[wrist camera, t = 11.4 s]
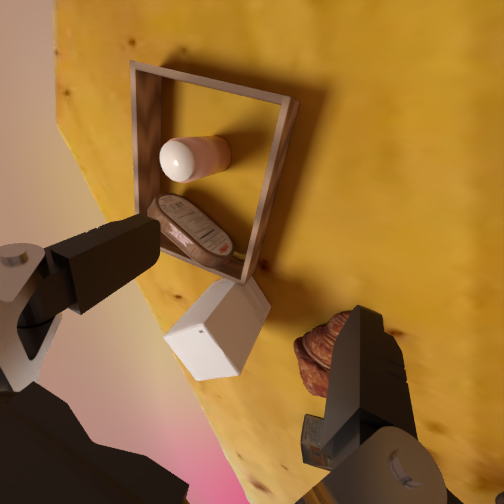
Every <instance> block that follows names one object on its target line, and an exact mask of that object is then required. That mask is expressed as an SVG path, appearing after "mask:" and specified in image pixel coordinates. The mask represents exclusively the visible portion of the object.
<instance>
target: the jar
mask: <svg viewBox="0 0 504 504" xmlns="http://www.w3.org/2000/svg"><path fill="white" fill-rule="evenodd" d="M231 157H232V154H231V149H230V147H229V145H228V143H227V142H226V141H225V140H224V139H223V138H221V137H219V136H203V137H182V138H173V139H170V140H169V141H168V142H167V143H165V144H164V145H163V147H162V149H161V151H160V164H161V167H162V169H163V171H164V173H165V174H166V175H167V176H168V177H169V178H170V179H172V180H174V181H177V182H180V183H187V182H191V181H194V180H197V179H200V178H203V177H206V176H209V175H213V174H216V173H219V172H222V171H224V170H226V169H227V168H228V166H229V165H230V162H231Z"/></svg>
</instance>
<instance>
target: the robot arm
mask: <svg viewBox="0 0 504 504" xmlns="http://www.w3.org/2000/svg"><path fill="white" fill-rule="evenodd" d="M160 237H161V224H160V222H159V221H158V220H156V219H154V218H152V217H149V216H147V215H145V214H142V213H139V214H136V215H134V216H131V217H129V218H126V219H124V220H120V221H114V222H110V223H107V224H105V225H102V226H100V227H98V229H97V228H95V229H92V230H90V231H88V232H87V233H86V232H84V233H82V234H79V235H77V236H74V237H72V238H69V239H67V240H64V241H61V242H59V243H56V244H54V245H51V246H49V247H46V248H44V249H43V248H42V247H40V246H38V245H34V244H28V243H18V244H9V245H4V246H1V247H0V504H190V503H189V502H188V501H187V499H186V496H187V492H188V488H189V484H187V483H186V482H184V481H183V480H181V479H180V478H178V477H177V476H175V475H174V474H172V473H171V472H169V471H168V470H166V469H165V468H163V467H162V466H160V465H159V464H157V463H156V462H154V461H153V460H151V459H150V458H148V457H147V456H144V455H140V454H136V453H132V452H128V451H124V450H119V449H115V448H111V447H107V446H103V445H99V444H96V443H94V442H92V440H91V439H90V438H89V436H88V435H87V433H86V432H85V430H84V429H83V427H82V426H81V424H80V422H79V421H78V419H77V418H76V416H75V415H74V413H73V412H72V410H71V409H70V407H69V405H68V404H67V403H66V402H64V401H63V400H61V399H60V398H58V397H57V396H55V395H54V394H52V393H51V392H49V391H48V390H46V389H45V388H43V387H42V386H40V385H39V384H38V376H39V370H40V367H41V364H42V362H43V360H44V358H45V356H46V353H47V351H48V349H49V347H50V344H51V342H52V340H53V337H54V335H55V333H56V331H57V328H58V326H59V324H60V322H61V319H62V313H61V312H62V311H64V310H65V309H67V308H69V309H71V310H73V311H75V312H76V313H78V314H80V315H82V314H83V313H85V312H86V311H87V310H89V309H90V308H92V307H93V306H95V305H96V304H98V303H99V302H100V301H102V300H103V299H105V298H106V297H108V296H109V295H111V294H112V293H114V292H115V291H117V290H118V289H120V288H121V287H123V286H124V285H126V284H127V283H128V282H130V281H131V280H133V279H134V278H136V277H137V276H139V275H140V274H142V273H143V272H145V271H146V270H147V269H149V268H150V267H152V266H153V265H154V264H155V263H156V262H157V260H158V258H159V255H160ZM404 367H405V366H404V360H403V354H402V351H401V349H400V347H399V346H398V344H397V342H396V340H395V339H394V337H393V336H392V335H389V334H387V333H385V332H384V326H383V318H382V315H381V314H379V313H377V312H375V311H372V310H370V309H367V308H365V307H363V306H360V305H357V306H356V307H355V308H354V310H353V311H352V313H351V315H350V316H349V318H348V319H347V321H346V323H345V324H344V326H343V328H342V329H341V331H340V332H339V334H338V336H337V338H336V340H335V343H334V347H333V351H332V359H331V367H330V375H329V383H328V391H327V399H326V407H325V415H324V423H323V431H322V438H321V446H320V451H322V452H323V453H325V454H327V455H329V456H331V457H332V469H331V472H330V473H329V474H328V475H327V476H326V477H324V478H323V479H322V480H321V481H320V482H319V483H318V484H316V485H315V486H314V487H313V488H312V489H310V490H309V491H308V492H307V493H306V494H305V495H304V496H303V497H301V498H300V499H299V500H298V501H297V502H296V503H295V504H464V503H462V502H461V501H460V500H459V499H458V498H457V497H455V496H454V495H453V494H452V493H451V492H450V491H449V490H448V489H447V488H446V486H445V482H444V479H443V476H442V474H441V472H440V470H439V468H438V466H437V464H436V462H435V461H434V459H433V458H432V456H431V455H430V454H429V452H428V451H427V450H426V449H425V447H424V446H423V445H422V444H421V443H420V442H419V441H418V438H417V433H416V427H415V422H414V416H413V410H412V405H411V399H410V394H409V388H408V383H406V381H407V377H406V371H405V370H404Z"/></svg>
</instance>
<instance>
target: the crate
mask: <svg viewBox="0 0 504 504" xmlns="http://www.w3.org/2000/svg"><path fill="white" fill-rule="evenodd" d="M162 77H166V78H170V79H174V80H178V81H183V82H187V83H191V84H195V85H199V86H203V87H208V88H212V89H216V90H220V91H224V92H229V93H233V94H237V95H241V96H245V97H250V98H254V99H258V100H262V101H266V102H270V103H275V104H279V105H281V108H280V113H279V117H278V121H277V126H276V130H275V134H274V138H273V143H272V147H271V151H270V156H269V160H268V164H267V168H266V173H265V177H264V181H263V186H262V190H261V194H260V199H259V203H258V207H257V211H256V216H255V220H254V224H253V229H252V233H251V237H250V241H249V246H248V250H247V254H246V259H245V263H244V262H242V261H239V260H237V259H234V258H232V257H231V259H230V260H229V261H228V263H227V264H226V266H224V267H223V268H220V269H210V268H206V267H204V266H202V265H200V264H198V263H196V262H195V261H194V260H192V259H191V258H190V257H189V256H188V255H187V254H186V253H185V252H183V251H182V250H181V249H180V248H179V247H178V246H177V245H176V244H175V243H173V242H172V241H171V240H170V239H169V238H168V237H167V236H166V235H164V234H163V233H162V232H161V237H160V251H162V252H164V253H166V254H169V255H171V256H173V257H176V258H178V259H181V260H183V261H185V262H188V263H190V264H193V265H195V266H197V267H200V268H202V269H204V270H207V271H209V272H212V273H214V274H216V275H219V276H221V277H223V278H226V279H228V280H231V281H233V282H235V283H238V284H240V285H243V286H245V284H246V283H247V282H248V280H249V279H250V277H251V276H252V275H253V273H254V272H255V270H256V266H257V262H258V258H259V254H260V251H261V247H262V243H263V239H264V236H265V232H266V228H267V224H268V220H269V217H270V213H271V209H272V205H273V202H274V198H275V194H276V190H277V186H278V183H279V179H280V175H281V171H282V168H283V164H284V160H285V156H286V152H287V149H288V145H289V141H290V137H291V134H292V130H293V126H294V122H295V118H296V115H297V111H298V107H299V103H300V101H298V100H296V99H294V98H292V97H289V96H285V95H280V94H276V93H271V92H267V91H263V90H258V89H254V88H250V87H245V86H241V85H237V84H232V83H228V82H223V81H219V80H215V79H210V78H206V77H202V76H197V75H193V74H189V73H184V72H180V71H175V70H171V69H167V68H162V67H158V66H154V65H149V64H145V63H141V62H136V61H132V60H130V82H131V110H132V138H133V166H134V195H135V215H136V214H139V213H142V214H145V215H147V216H148V212H147V211H148V208H149V206H150V205H151V203H152V201H153V200H154V198H155V196H156V195H158V194H160V151H161V109H162Z"/></svg>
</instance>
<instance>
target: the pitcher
mask: <svg viewBox="0 0 504 504" xmlns="http://www.w3.org/2000/svg"><path fill="white" fill-rule="evenodd" d="M495 502H496V504H504V492H502V493H501V494H499V495H498V496H497V497H496V499H495Z"/></svg>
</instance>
